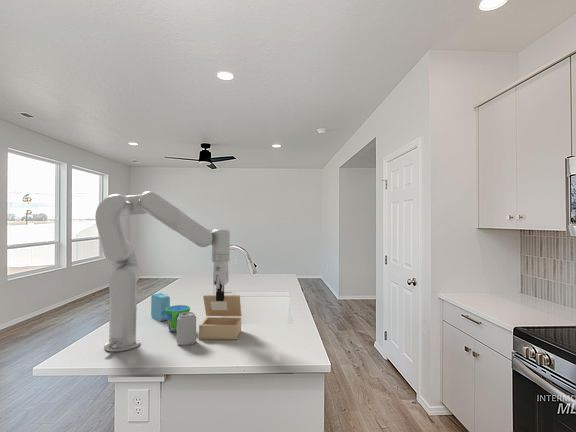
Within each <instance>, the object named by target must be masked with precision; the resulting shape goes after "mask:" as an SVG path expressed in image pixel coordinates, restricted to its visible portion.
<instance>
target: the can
mask: <svg viewBox="0 0 576 432" xmlns="http://www.w3.org/2000/svg"><path fill="white" fill-rule="evenodd" d="M195 314H196V313H195V312H192V311H189V312H183V313H180V314H179V317H178V318H177V332H176V343H177V344H178V345H179V346H181V347H182V346H183V347H186V346H191V345H193V344H194V343H196V341H197V316H196V315H195Z"/></svg>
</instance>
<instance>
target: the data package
mask: <svg viewBox="0 0 576 432" xmlns="http://www.w3.org/2000/svg"><path fill="white" fill-rule="evenodd" d="M150 298H151V299H150V316H151V318H153V319H154V320H156V321H158V322H163V321H164V322H165V321H168V320H167V313H166V308H167V307H170V306H171V297H170V296H169V295H167V294H164V293H161V292H160V293H153V294H152V295H151V297H150Z"/></svg>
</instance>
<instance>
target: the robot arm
mask: <svg viewBox="0 0 576 432" xmlns="http://www.w3.org/2000/svg"><path fill="white" fill-rule="evenodd" d="M146 214H147V215H150V216H151V217H153V218H154V219H155V220H157V221H159V222H160V223H162V224H164V225H165V226H167V227H168V228H169V229H171V230H172V231H174V232H176V233H178V234H180V235H181V236H183V237H184V238H185V239H187V240H188V241H191V243H193V244H195V245H196V246H198V247H200V248H207V247H209V246H211V262H212V263H213V274H212V275H213V276H212V282H213V283H212V284H213V285H214V286H215V291H216V292H215V295H216V301H224V295H225V285H227V284H228V283H229V262H230V259H231V258H230V251H231V250H230V249H231V248H230V247H231V246H230V245H231V244H230V243H231V242H230V241H231V235H230V230H229V229H221V228H220V229H219V228H217V229H208V228H206V227H205V226H202V224H200V223H199V222H197V221H196V220H194V219H192V217H190V216H188V215H187V214H186V213H185V212H184V211H182V210H181V209H180V208H178V207H177V206H175V205H173V204H172V203H171V202H170V201H168V200H166V199H165V198H164V197H162V196H160V195H159V194H158V193H156V192H154V191H144V192H143V193H142V194H135V195H132V194H131V195H124V194H120V193H115V194H110V195H108V196H106V197H105V198H104V199H103V200H102V201H100V203H99V204H98V206H97V208H96V211H95V215H94V216H95V226H96V228H97V232H98V237H99V240H100V244H101V248H102V252H103V255H104V258H105V259H106V260H107V262H109V263H111V264H112V268H113V270H112V272H111V274H110V276H109V281H108V289H109V291H108V292H109V322H108V323H109V327H108V330H109V331H108V341H107V342H106V343H105V344H104V346H103V349H104V350H105V351H106V352H107V351H108V352H110V353H111V352H112V353H114V352H117V353H118V352H124V351H129V350H132V349H135V348H137V347H139V346H140V344H141V340H140V339H139V338H137V305H138V304H137V303H138V301H137V297H138V296H137V295H138V293H137V282H138V281H139V279H140V277H141V271H140V266H139V263H138V262H139V261H138V259H137V256H136V252H135V249H134V246H133V244H132V243H131V242H130V241H129V240H128V239H126V236H125V233H124V228H123V226H122V223H121V217H128V216H129V217H130V216H136V215H137V216H138V215H146Z"/></svg>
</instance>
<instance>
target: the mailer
mask: <svg viewBox="0 0 576 432" xmlns="http://www.w3.org/2000/svg"><path fill="white" fill-rule="evenodd" d="M240 331H241V332H242V317H238V316H206V317H205V318H204V319H203V320H202V321H201V322H200V324H199V325H198V340H199V341H201V340H202V341H203V340H204V341H205V340H208V341H210V340H212V341H238V339H237V338H239V337H238V336H240V335H241V332H240Z"/></svg>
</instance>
